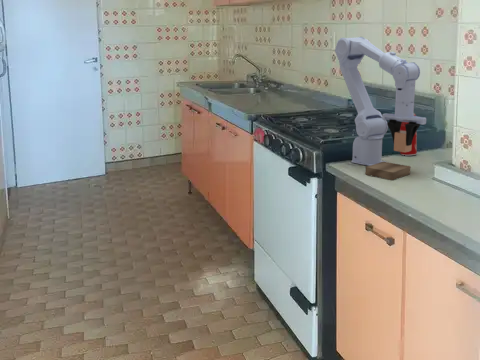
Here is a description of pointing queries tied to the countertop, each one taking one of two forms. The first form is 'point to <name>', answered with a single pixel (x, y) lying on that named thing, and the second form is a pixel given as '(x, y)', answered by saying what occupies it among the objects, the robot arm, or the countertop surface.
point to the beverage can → (414, 142)
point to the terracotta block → (401, 142)
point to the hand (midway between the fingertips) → (402, 144)
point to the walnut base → (388, 170)
